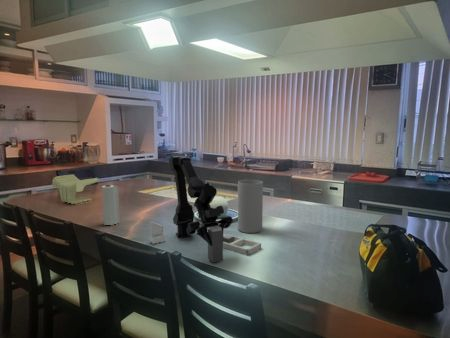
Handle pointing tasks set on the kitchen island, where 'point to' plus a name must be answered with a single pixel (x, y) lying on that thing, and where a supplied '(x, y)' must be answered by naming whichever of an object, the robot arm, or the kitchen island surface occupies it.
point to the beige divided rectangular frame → (235, 242)
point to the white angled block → (156, 233)
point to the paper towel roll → (110, 204)
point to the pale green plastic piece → (71, 187)
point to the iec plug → (215, 244)
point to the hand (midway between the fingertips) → (217, 244)
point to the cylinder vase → (250, 206)
